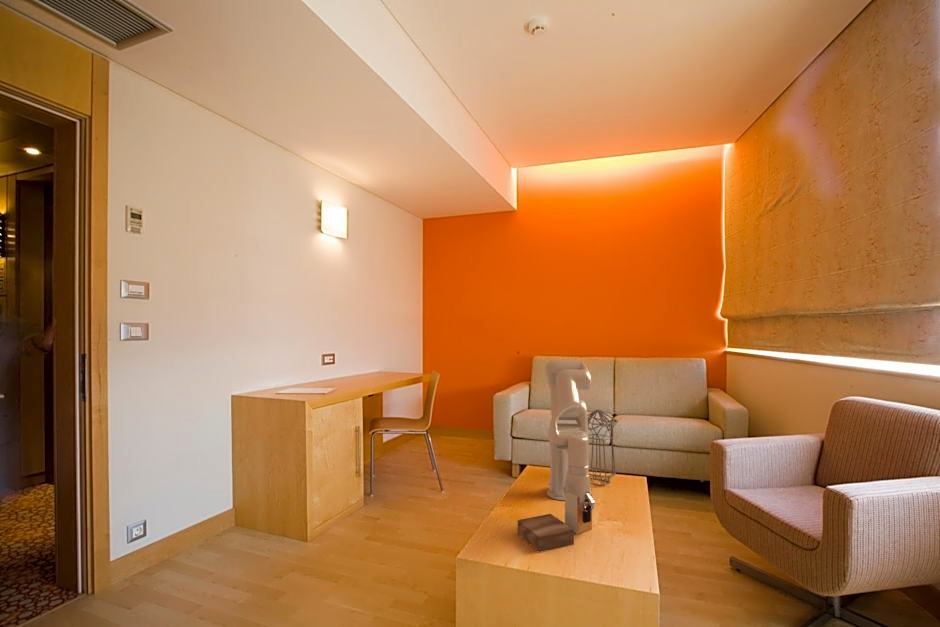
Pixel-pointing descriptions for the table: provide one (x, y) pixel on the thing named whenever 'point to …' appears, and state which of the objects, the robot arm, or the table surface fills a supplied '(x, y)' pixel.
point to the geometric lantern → (603, 444)
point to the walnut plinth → (545, 532)
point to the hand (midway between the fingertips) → (578, 516)
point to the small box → (575, 514)
